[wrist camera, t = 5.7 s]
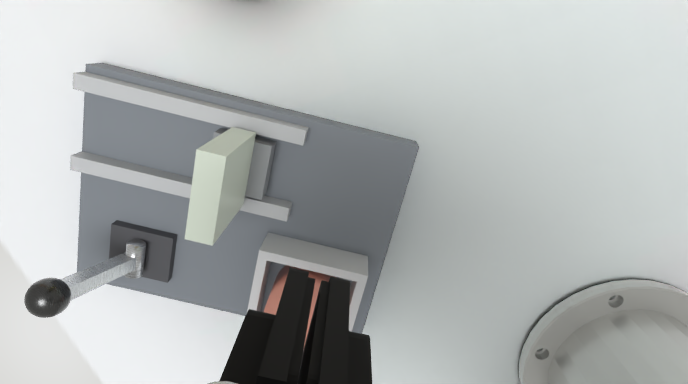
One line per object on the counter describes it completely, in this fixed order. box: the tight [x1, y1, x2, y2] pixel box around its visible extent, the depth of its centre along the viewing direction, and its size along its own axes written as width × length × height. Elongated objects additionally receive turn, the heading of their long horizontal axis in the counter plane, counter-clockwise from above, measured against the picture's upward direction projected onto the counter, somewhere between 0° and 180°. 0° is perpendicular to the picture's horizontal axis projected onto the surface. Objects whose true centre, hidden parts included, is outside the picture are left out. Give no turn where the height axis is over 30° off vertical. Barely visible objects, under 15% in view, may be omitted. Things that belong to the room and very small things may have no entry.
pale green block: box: [185, 127, 276, 246], centre depth 20 cm, size 3×4×6 cm
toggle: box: [25, 239, 146, 317], centre depth 22 cm, size 2×2×6 cm
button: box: [264, 265, 337, 350], centre depth 25 cm, size 4×4×3 cm
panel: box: [70, 63, 419, 334], centre depth 24 cm, size 18×13×4 cm
